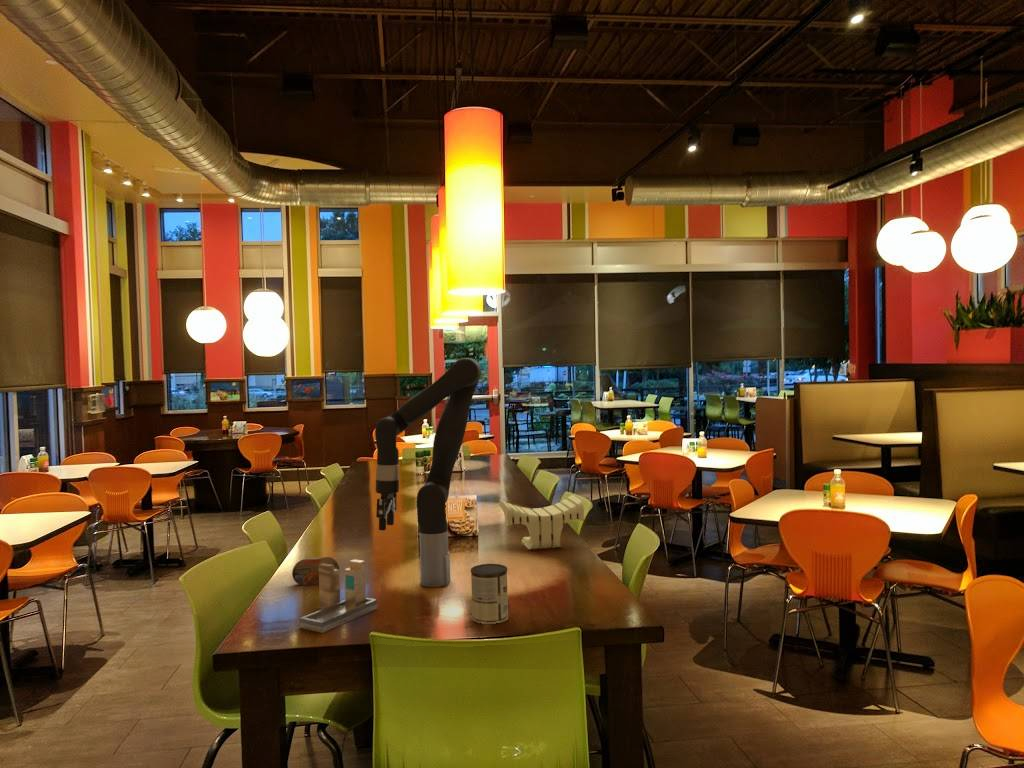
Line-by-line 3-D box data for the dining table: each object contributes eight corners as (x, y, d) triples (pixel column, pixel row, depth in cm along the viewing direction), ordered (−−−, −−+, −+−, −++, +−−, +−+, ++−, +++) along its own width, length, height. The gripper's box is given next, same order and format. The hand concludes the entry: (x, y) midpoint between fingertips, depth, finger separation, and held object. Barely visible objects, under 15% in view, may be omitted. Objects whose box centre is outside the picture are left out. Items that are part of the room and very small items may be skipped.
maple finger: (330, 604, 221) (329, 561, 220) (340, 606, 218) (339, 563, 218) (319, 608, 217) (318, 564, 217) (330, 610, 215) (328, 566, 214)
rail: (355, 604, 220) (354, 556, 219) (377, 608, 215) (375, 559, 215) (300, 627, 201) (298, 575, 201) (322, 633, 197) (320, 579, 196)
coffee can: (472, 612, 210) (471, 564, 210) (507, 611, 211) (506, 562, 210) (471, 625, 200) (470, 574, 200) (509, 624, 200) (507, 573, 200)
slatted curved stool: (508, 553, 276) (507, 506, 275) (500, 543, 291) (499, 498, 291) (584, 547, 281) (583, 501, 281) (572, 538, 297) (572, 494, 297)
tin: (292, 586, 239) (291, 561, 239) (292, 584, 242) (292, 558, 242) (339, 582, 243) (339, 557, 243) (339, 579, 246) (338, 554, 246)
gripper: (392, 481, 231) (391, 532, 232) (404, 475, 245) (403, 523, 246) (369, 480, 232) (368, 531, 232) (383, 474, 246) (382, 522, 247)
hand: (386, 527), depth 239 cm, fingers open, 8 cm apart
